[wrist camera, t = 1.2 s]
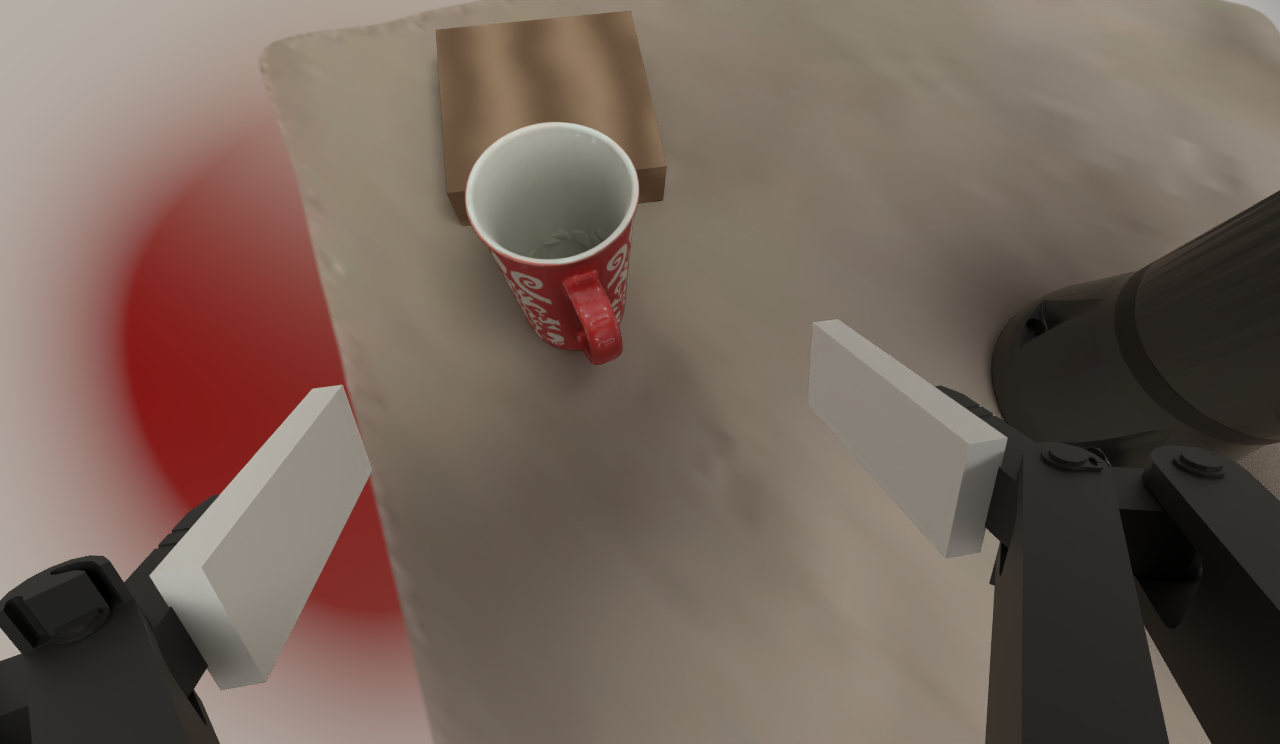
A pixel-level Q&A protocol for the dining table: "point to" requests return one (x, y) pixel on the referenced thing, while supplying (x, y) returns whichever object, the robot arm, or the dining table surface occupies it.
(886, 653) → the dining table surface
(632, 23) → the walnut stand
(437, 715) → the dining table surface
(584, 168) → the mug
